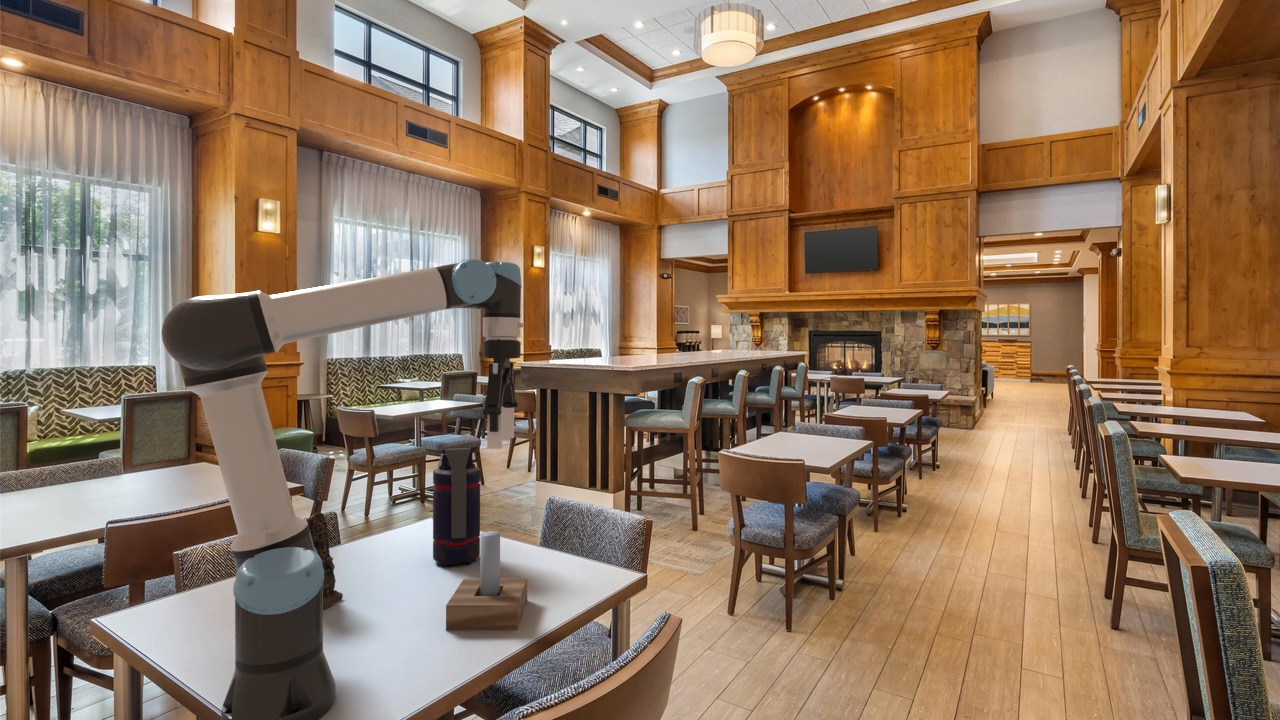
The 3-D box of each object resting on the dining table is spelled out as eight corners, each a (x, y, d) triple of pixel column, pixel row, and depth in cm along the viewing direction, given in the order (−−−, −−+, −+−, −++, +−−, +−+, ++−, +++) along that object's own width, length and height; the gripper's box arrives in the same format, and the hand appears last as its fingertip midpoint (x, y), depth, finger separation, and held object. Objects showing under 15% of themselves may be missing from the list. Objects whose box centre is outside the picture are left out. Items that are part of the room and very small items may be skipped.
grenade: (432, 555, 163) (432, 444, 163) (477, 550, 167) (478, 442, 167) (433, 573, 150) (434, 453, 150) (483, 567, 154) (483, 450, 154)
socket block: (516, 629, 121) (517, 604, 121) (445, 630, 120) (446, 605, 120) (527, 600, 135) (527, 578, 134) (463, 600, 134) (463, 578, 134)
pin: (497, 613, 125) (498, 537, 125) (478, 613, 125) (478, 537, 125) (501, 605, 129) (501, 531, 129) (482, 605, 129) (482, 531, 129)
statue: (321, 612, 128) (321, 518, 127) (292, 609, 129) (292, 515, 129) (344, 599, 134) (344, 509, 134) (316, 596, 136) (316, 507, 136)
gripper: (509, 338, 111) (509, 453, 111) (529, 340, 136) (528, 434, 136) (468, 337, 111) (467, 453, 111) (495, 339, 136) (495, 434, 136)
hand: (501, 443), depth 124 cm, fingers open, 13 cm apart
